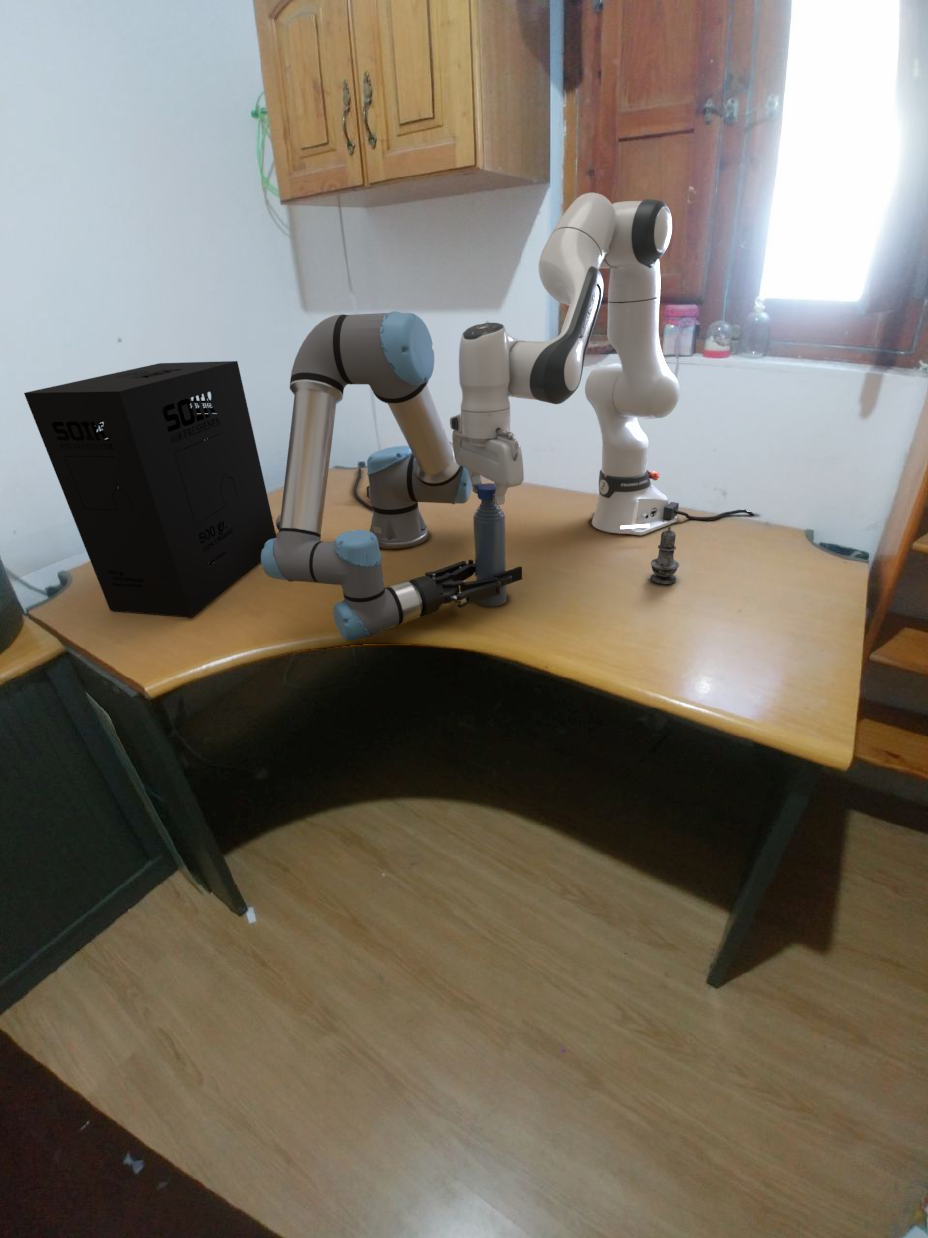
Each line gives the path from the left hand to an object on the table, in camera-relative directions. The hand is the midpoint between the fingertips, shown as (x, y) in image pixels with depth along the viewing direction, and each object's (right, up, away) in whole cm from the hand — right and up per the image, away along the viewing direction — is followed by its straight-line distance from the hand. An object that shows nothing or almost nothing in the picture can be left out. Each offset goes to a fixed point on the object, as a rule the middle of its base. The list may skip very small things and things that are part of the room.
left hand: (510, 567), depth 126 cm
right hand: (-5, +12, -10) cm, 17 cm away
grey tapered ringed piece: (+33, -2, +5) cm, 34 cm away
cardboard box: (-73, -1, +18) cm, 75 cm away
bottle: (-4, -7, +1) cm, 8 cm away
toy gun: (-29, +29, +65) cm, 77 cm away
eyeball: (-58, +12, +39) cm, 71 cm away
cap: (-5, +14, -11) cm, 19 cm away
